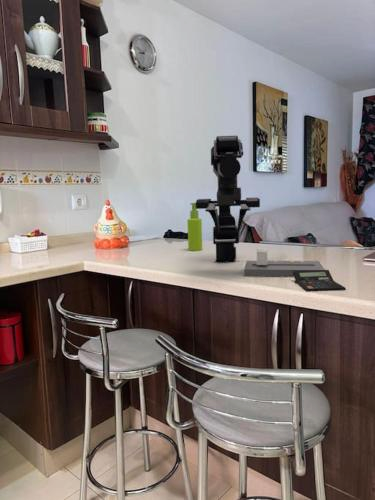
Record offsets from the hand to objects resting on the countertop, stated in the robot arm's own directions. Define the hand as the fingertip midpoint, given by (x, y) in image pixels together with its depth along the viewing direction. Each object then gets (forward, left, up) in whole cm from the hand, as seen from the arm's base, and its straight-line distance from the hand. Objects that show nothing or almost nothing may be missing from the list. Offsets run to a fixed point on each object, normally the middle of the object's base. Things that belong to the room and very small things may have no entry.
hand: (228, 232), depth 115 cm
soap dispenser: (-18, +43, -12) cm, 48 cm away
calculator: (+24, -16, -13) cm, 31 cm away
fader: (+10, 0, -9) cm, 14 cm away
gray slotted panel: (+16, 0, -12) cm, 20 cm away
